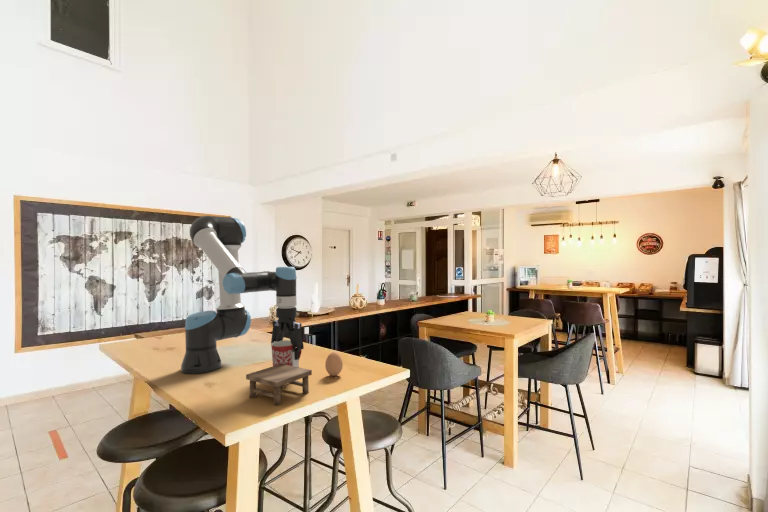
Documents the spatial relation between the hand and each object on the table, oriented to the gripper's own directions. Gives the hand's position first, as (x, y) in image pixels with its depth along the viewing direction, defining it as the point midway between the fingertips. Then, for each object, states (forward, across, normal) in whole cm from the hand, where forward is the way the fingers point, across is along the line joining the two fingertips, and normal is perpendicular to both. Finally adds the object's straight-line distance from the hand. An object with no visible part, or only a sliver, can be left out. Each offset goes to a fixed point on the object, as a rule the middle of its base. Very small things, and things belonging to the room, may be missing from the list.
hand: (287, 366), depth 145 cm
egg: (+5, +14, +11) cm, 18 cm away
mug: (+4, 0, 0) cm, 4 cm away
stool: (+4, +12, -14) cm, 19 cm away
